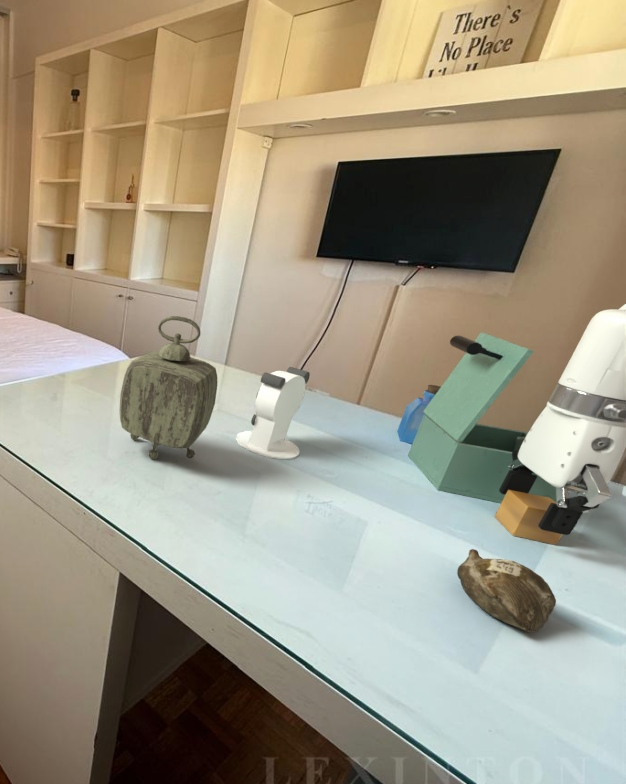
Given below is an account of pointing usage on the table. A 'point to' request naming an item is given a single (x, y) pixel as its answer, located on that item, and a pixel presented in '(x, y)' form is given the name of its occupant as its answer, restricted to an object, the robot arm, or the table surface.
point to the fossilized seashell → (507, 591)
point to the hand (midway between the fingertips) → (530, 512)
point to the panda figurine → (275, 414)
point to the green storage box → (470, 460)
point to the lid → (475, 382)
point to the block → (526, 516)
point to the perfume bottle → (415, 415)
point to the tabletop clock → (168, 395)
